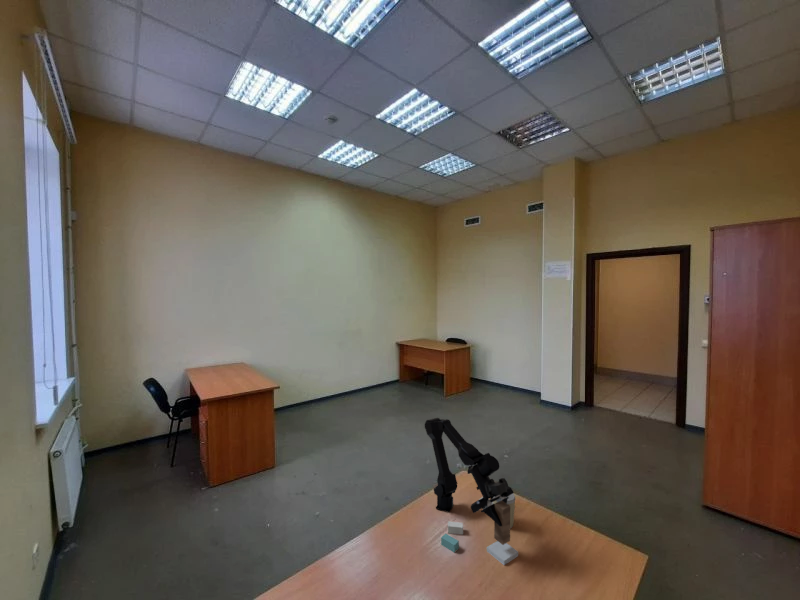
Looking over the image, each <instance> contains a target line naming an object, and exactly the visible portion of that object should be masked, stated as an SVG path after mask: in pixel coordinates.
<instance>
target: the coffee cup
mask: <svg viewBox="0 0 800 600" xmlns="http://www.w3.org/2000/svg"><path fill="white" fill-rule="evenodd" d="M494 497H495V496H494ZM494 497H493V498H494ZM508 497H509V499H507V504H508V505H510V529H512V528H513V527H514V521H515V520H514V519H515V507H516V505H515V504H516V496H515V494H514V493H513V494H511V495H509V496H508ZM506 498H507V497H506ZM495 503H497V501H494V502H493V504H495Z"/></svg>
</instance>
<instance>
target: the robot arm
mask: <svg viewBox="0 0 800 600" xmlns="http://www.w3.org/2000/svg"><path fill="white" fill-rule="evenodd" d="M424 429H425V432H426V435H427V436H428V437H429V438H430V440H431V443H432V447H433V452H434V456H435V460H436V466H437V469H438V474H437V475H438V476H437V478H436V479H437V480H436V481H437V485H436V486H435V487H434V488H433V492H434V493H433V494H434V495H435V496H436V507H435V509H436V510H439V511H442V512H446V513H451V511H452V509H453V507H454V496H453V494H455V493H456V490H457V489H458V481H457V477H456V474H455V473H452V472H451V470H450V467H449V463H448V459H447V458H448V457H447V454H446V450H445V445H444V440H443V434H444V435H445V436H446V437H447V438H448V439H449V441H450V443H452V445H453V446H454V447H455V449H456V450H457V453H458V457H459V459H460V460H461V462H462V463H463V465H464V466H468V468H467V473H466V474H468V475H470V474H471V475H472V477H473V480H474V482H475V484H476V487H475V488H476V489H477V491H479V492H480V494H481V495H482V497H483V498H482V497H481V498H482V499H481V498H479V499H480V500H479V499H478V500H476V501H474V502H473V503H471V504H470V508H471V511H472V513H473V514H475V513H477V512H481V513H484V514H485V515H486V516H487V517H489V518H490V519H491V520H492V521H493V522H494V521H495V522H496V523H497V524H498V525H499V526H500V527H501V526H502V524H501V521H500V519H499V517H498V515H497V513H496V511H495V504H491V503H492V502H494V501H497V502H499V501H501V500H502V501H503V502H505V503H507V499H509V497H508V496H509V495H511V494H514V490H513V488H512V487H510V486H509V484H508V481H507V480H506V478H505V477H502V478H499V479H498V481H497V482H496V481H495V480H494V479H493V478H491V477H490V476H491V475H492V474H494V473H495V472H497V471H498V470H499V469H500V463H499V462H500V461H498V459H497V458H496V457H495V456H493V455H491V453H489V452H486V453H485V454H484V453H482V452H481V451H480V450H479V449H478V448H477V447H475V445H474V444H471V443H469V442H467V440H465V438H463V436H462V435H461V434H460V432H458V430H457V429H456V428H455V427H454V426H453V424H452V422H451V420H450V419H446V418H444V419H440V417H434V418H431V419H427V420H426V421H425V422H424ZM494 496H495V497H494ZM493 497H494V498H493ZM506 497H507V498H506ZM481 509H482V510H481ZM480 510H481V511H480Z"/></svg>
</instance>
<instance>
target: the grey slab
mask: <svg viewBox="0 0 800 600" xmlns="http://www.w3.org/2000/svg"><path fill="white" fill-rule="evenodd" d="M486 552H487V553H488V554H489V555H491V556H492V557H493V558H494V559H495V560H497V561H498V562H499V563H501V564H502V565H503V566H505V565H507V564H508V563H510V562H511V561H513V560H514V559H516V558H517V557H519V551H518V550H517V549H516V548H514V547H512V545H510V544H509V543H508V542H507V543H505V544H504V545H502V544H501V543H500V542H498V541H497V540H496V541H495V542H493V543H491V544H490V545H488V546H486Z"/></svg>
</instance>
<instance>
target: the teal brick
mask: <svg viewBox="0 0 800 600" xmlns="http://www.w3.org/2000/svg"><path fill="white" fill-rule="evenodd" d="M440 539H441V540H440V541H441V543H440V544H441V546H443V547H444V548H445V549H447V550H449V551H451V552H453V553H454V554H455V553H456V552H457V551H458V550H459V548H460V547H459V545H460V541H459V540H458V539H456V538H454V537H453V536H452V535H449V534H448V533H444V535H442V536H441V537H440ZM456 550H457V551H456ZM455 551H456V552H455Z"/></svg>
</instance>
